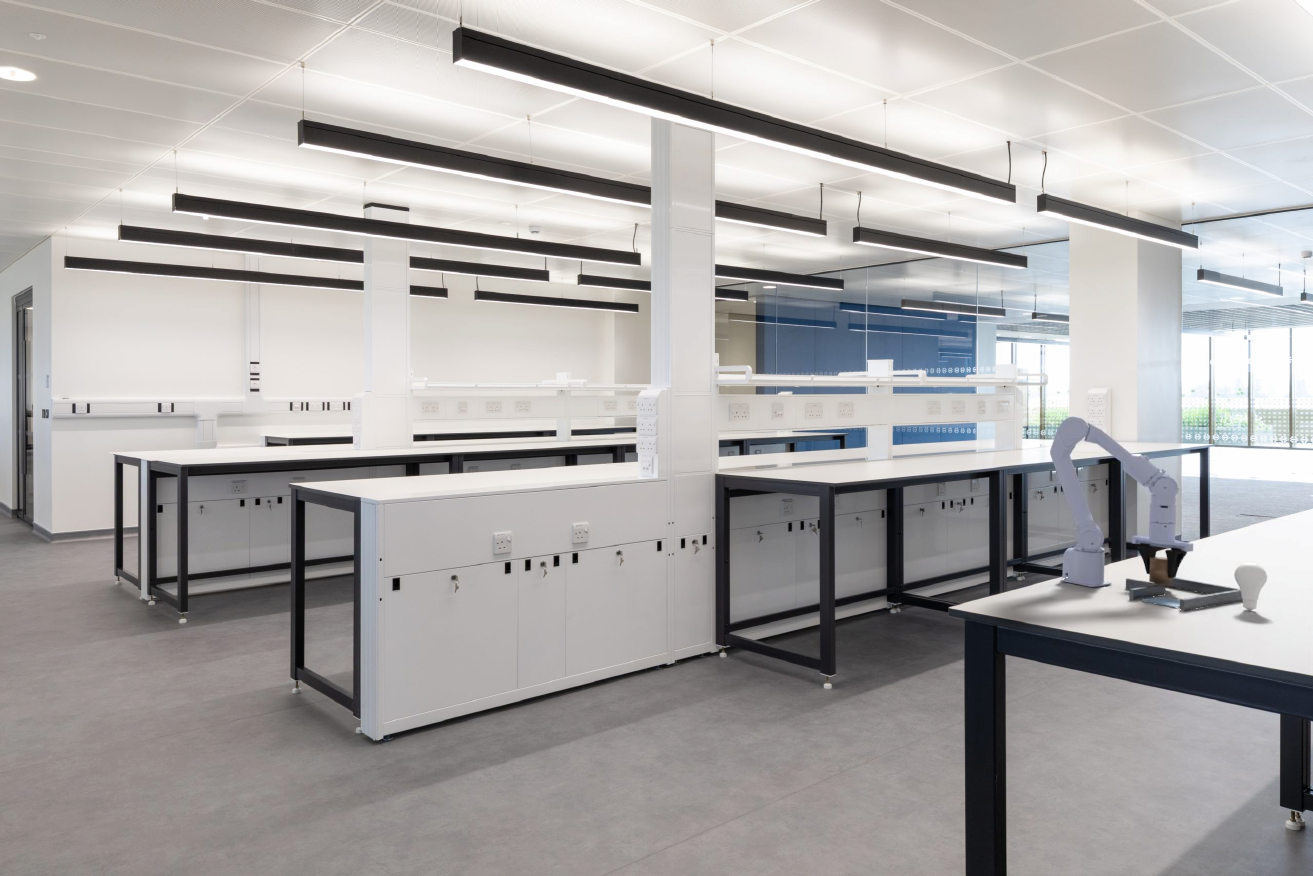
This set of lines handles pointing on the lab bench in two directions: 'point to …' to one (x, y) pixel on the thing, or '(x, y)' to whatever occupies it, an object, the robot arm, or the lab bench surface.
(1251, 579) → the lightbulb
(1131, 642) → the lab bench surface
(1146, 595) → the guide walls
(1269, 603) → the lab bench surface
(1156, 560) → the walnut cylinder
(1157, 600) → the pad
